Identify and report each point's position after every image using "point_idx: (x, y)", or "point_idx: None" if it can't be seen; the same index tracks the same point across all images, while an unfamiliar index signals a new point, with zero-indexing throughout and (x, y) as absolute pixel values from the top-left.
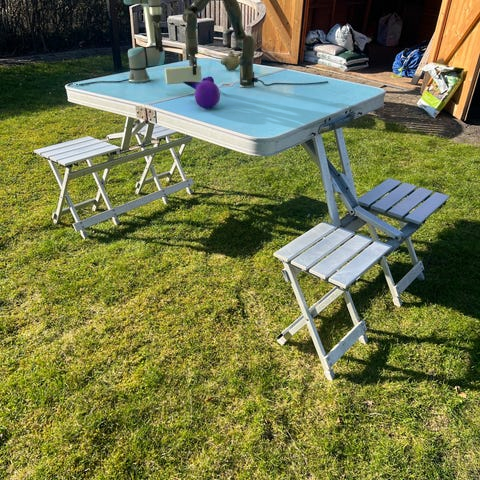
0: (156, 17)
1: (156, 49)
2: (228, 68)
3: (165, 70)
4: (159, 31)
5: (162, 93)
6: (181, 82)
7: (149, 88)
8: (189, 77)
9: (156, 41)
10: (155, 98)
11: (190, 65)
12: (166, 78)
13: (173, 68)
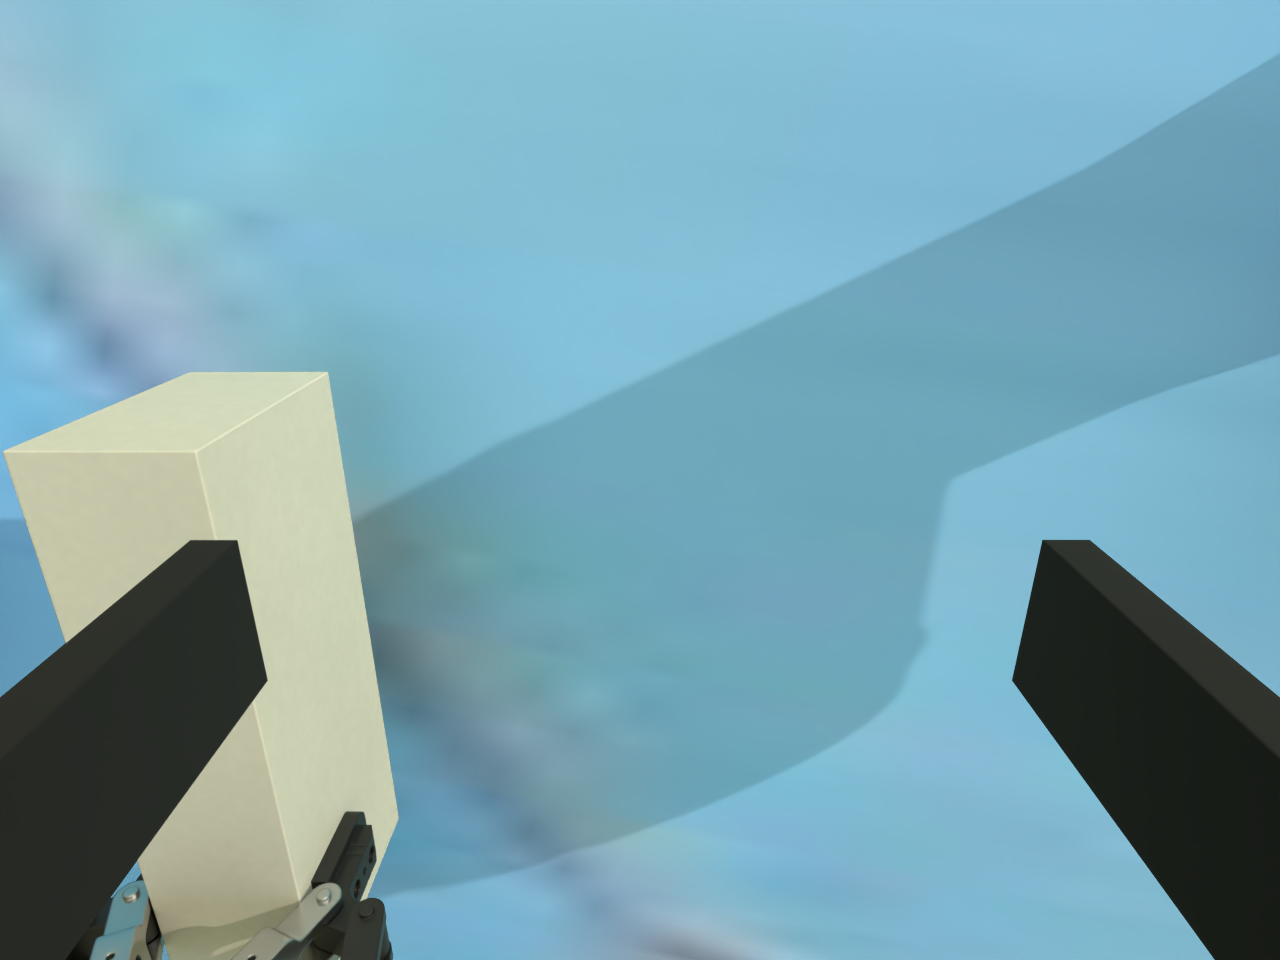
0: None
1: (1045, 558)
2: None
3: (95, 440)
4: None
5: (517, 286)
6: None
7: (953, 139)
8: None
9: (1260, 828)
10: (217, 136)
11: (295, 908)
12: (166, 396)
13: (96, 610)
